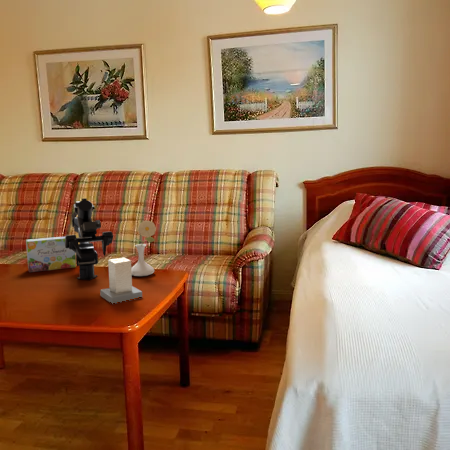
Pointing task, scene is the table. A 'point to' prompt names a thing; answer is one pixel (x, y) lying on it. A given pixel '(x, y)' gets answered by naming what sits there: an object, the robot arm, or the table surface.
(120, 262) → the cream block
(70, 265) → the snack box
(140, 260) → the flower in vase
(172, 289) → the table surface
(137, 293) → the grey block
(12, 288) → the table surface
